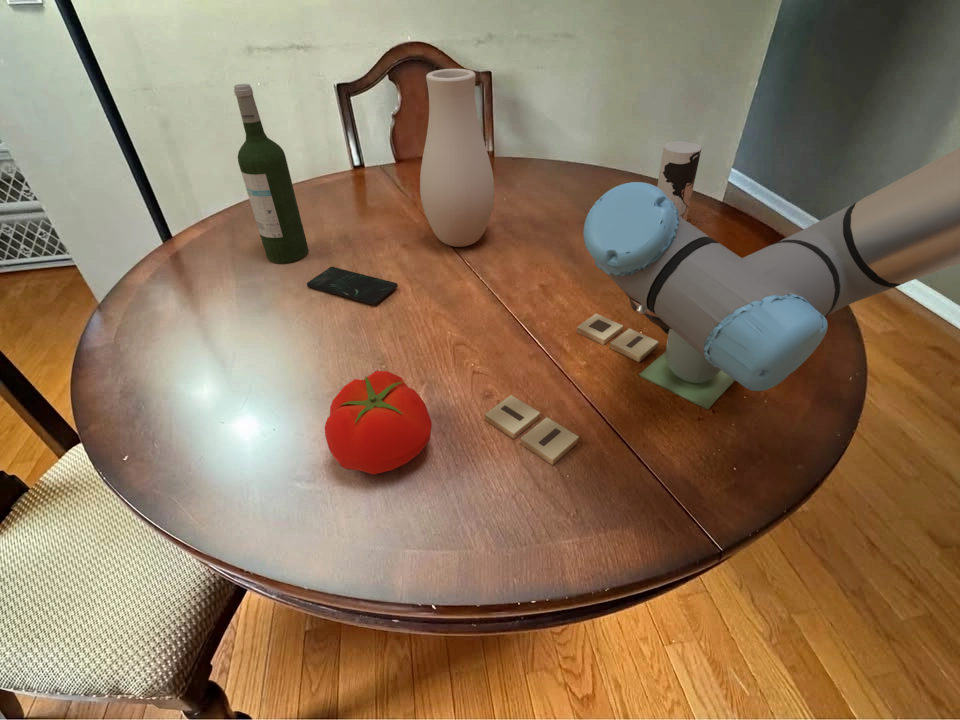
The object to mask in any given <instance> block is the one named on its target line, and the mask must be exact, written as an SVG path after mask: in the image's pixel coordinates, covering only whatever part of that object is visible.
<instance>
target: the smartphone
mask: <svg viewBox="0 0 960 720" xmlns="http://www.w3.org/2000/svg"><path fill="white" fill-rule="evenodd" d="M306 286H307V287H309V288H312V289H316V290H319V291H322V292H326V293H329V294H333V295H338V296H341V297H343V298H344V297H345V298H347V299H352V300H355V301H357V302H361V303H364V304H367V305H373V306H375V305H377V304H378V303H379V302H380V301H382V300H383V299H384V298H386V297H387V296H388V295H389V294H390V293H392V292H393V291H394V290H396V289H397V288H398V287H399V285H398V283H397V282H395V281H394V282H393V281H390V280H387V279H383V278H378V277H375V276H370V275H368V274H367V275H366V274H363V273H359V272H355V271H352V270H347V269H342V268H340V267H335V266H330V267H328V268H327V269H325V270H324V271H322V272H321V273H319V274H317V275H316V276H315V277H312V279H310V280H308V281H307V282H306Z"/></svg>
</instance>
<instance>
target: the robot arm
mask: <svg viewBox="0 0 960 720" xmlns="http://www.w3.org/2000/svg"><path fill="white" fill-rule="evenodd" d="M583 242H584V245H585V248H586V251H587V252H588V253H589V255H590V256H591V258H592V259H593V261H594V265H595V266H596V267H597V268H598V269H599V270H601V271H602V272H603V273H604V274H606V275H607V276H608V278H610V279H611V280H612V281H613V282H614V283H615V285H616V286H618V287H619V288H620V289H621V290H622V292H623V293H624V294H625V295H626V296H627V297H628V300H629V304H630V307H631V309H632V310H633V311H634V312H636V313H637V314H639V315H641V316H645V317H646V318H647V320H648V321H650V322H651V323H652V324H654V325H655V326H658V327H659V328H660V329H661V330H662V331H663V332H664V333H665V334H666V335H668V332H669V329H673V330H674V331H675V332H676V333H677V334H678V335H680V336H681V337H682V338H683V339H684V340H685V341H686V342H688V343H689V344H690V345H691V346H692V347H693V348H695V349H696V350H697V351H698V352H699V353H700V354H701V355H703V356H704V357H705V359H707V361H708V362H709V363H711V365H712V366H714V367H717V368H719V369H721V370H722V371H723V372H725V373H726V374H727V375H729V376H730V377H732V378H733V379H734V380H736V381H735V382H737V383H738V384H740V385H741V386H742V387H744V388H745V389H747V390H749V391H752V392H763V391H767V390H770V389H772V388H774V387H775V386H778V385H779V384H780V383H782V382H783V381H785V379H786V378H787V377H789V375H791V374H792V373H794V372H795V371H796V370H798V368H800V367H801V366H802V365H803V364H804V363H805V362H806V361H807V360H808V359H809V357H811V355H812V354H813V353H814V352H815V351H816V349H817V348H818V347H819V346H820V344H821V343H822V341H823V340H824V339H825V336H826V334H827V332H828V327H829V326H828V320H827V317H828V316H831V314H833V313H835V312H837V311H839V310H841V309H843V308H845V307H847V306H849V305H851V304H854V303H856V302H858V301H861V300H864V299H867V298H869V297H872V296H875V295H878V294H881V293H883V292H886V291H889V290H891V289H894V288H897V287H899V286H901V285H904V284H906V283H908V282H912V281H914V280H917V279H920V278H923V277H925V276H929V275H931V274H934V273H937V272H940V271H942V270H945V269H948V268H951V267H953V266H956V265H959V264H960V146H959V147H958V148H955V149H954V150H951V151H950V152H947V153H946V154H944V155H942V156H941V157H939V158H936V159H935V160H933V161H931V162H929V163H927V164H925V165H924V166H921V167H920V168H918V169H916V170H914V171H912V172H909V174H907V175H905V176H903V177H901V178H899V179H897V180H895V181H893V182H892V183H889V184H887V185H886V186H884V187H881V188H880V189H878V190H876V191H873V193H870V194H869V195H867V196H865V197H863V198H862V199H859V200H858V201H856V202H854V203H852V204H850V205H847V206H846V207H844V208H841V209H840V210H838V211H836V212H834V213H833V214H830V215H829V216H827V217H825V218H823V219H821V220H819V221H817V222H815V223H813V224H811V225H809V226H808V227H805V228H803V229H802V230H800V231H797V232H795V233H793V234H791V235H789V236H787V237H785V238H782V239H781V240H778V241H777V242H774V243H771V244H769V245H767V246H765V247H763V248H761V249H759V250H757V251H754V252H752V253H750V254H748V255H746V256H744V257H741V256H740V255H738V254H736V253H735V252H733V251H732V250H730V249H729V248H728V247H726V246H724V245H723V244H722V243H720V242H718V241H717V240H716V239H713V238H712V237H711V236H709V235H707V234H706V233H705V232H703V231H702V230H700V229H699V228H698V227H696V226H695V225H693V224H692V223H690V222H689V221H687V220H684V219H683V218H682V217H681V216H680V215H679V214H678V209H677V208H676V207H675V203H674V202H673V201H671V200H670V199H669V198H668V197H667V196H666V194H665V193H664V192H663V191H662V190H661V189H659V188H658V187H657V185H654V184H652V183H649V182H644V181H643V182H642V181H630V182H626V183H622V184H619V185H616V186H615V187H613V188H611V189H609V190H608V191H606V192H605V193H603V194H602V195H601V196H600V197H599V198H598V199H597V200H596V201H595V203H594V204H593V205H592V207H591V208H590V210H588V213H587V215H586V217H585V221H584V223H583Z"/></svg>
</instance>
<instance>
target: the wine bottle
mask: <svg viewBox="0 0 960 720" xmlns="http://www.w3.org/2000/svg"><path fill="white" fill-rule="evenodd" d="M233 91H234V96H235V97H236V101H237V104H238V108H239V112H240V117H241V120H242V125H243V128H244V133H245V141H244V142H243V144H242V145H241V146H240V148H239V150H238V153H237V163H238V167H239V169H240V173H241V176H242V180H243V183H244V186H245V190H246V192H247V196H248V199H249V203H250V206H251V209H252V212H253V216H254V219H255V223H256V225H257V229H258V232H259V237H260V240H261V242H262V246H263V249H264V252H265V255H266V256H265V257H266V258H267V260H269V262H271V263H274V264H279V265H280V264H281V265H284V264H292V263H296V262H298V261H301V260H302V259H304V258H306V257H307V255H308V253H309V245H308V241H307V237H306V233H305V230H304V226H303V225H304V224H303V222H302V218H301V214H300V213H301V212H300V210H299V205H298V202H297V197H296V193H295V189H294V185H293V181H292V177H291V173H290V169H289V166H288V161H287V157H286V154H285V151H284V149H283V148H282V147H281V146H280V145H279V144H278V143H277V142H276V141H274V140H272V139H270V137H268V136H267V135H266V133H265V130H264V127H263V123H262V120H261V117H260V113H259V111H258V107H257V103H256V101H255V97H254V91H253V87H252V86H251V84H250V83H239V84H235V85H233Z"/></svg>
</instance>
